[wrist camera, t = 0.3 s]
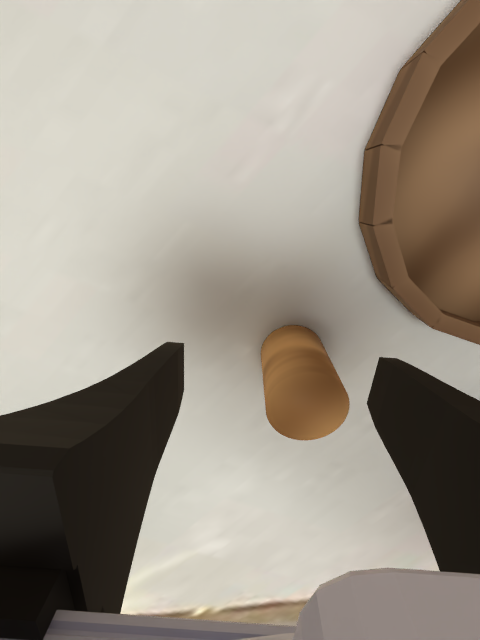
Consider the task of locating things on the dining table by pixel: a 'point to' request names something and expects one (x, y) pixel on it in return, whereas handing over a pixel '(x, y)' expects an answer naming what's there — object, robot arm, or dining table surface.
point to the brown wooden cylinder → (301, 385)
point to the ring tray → (430, 180)
